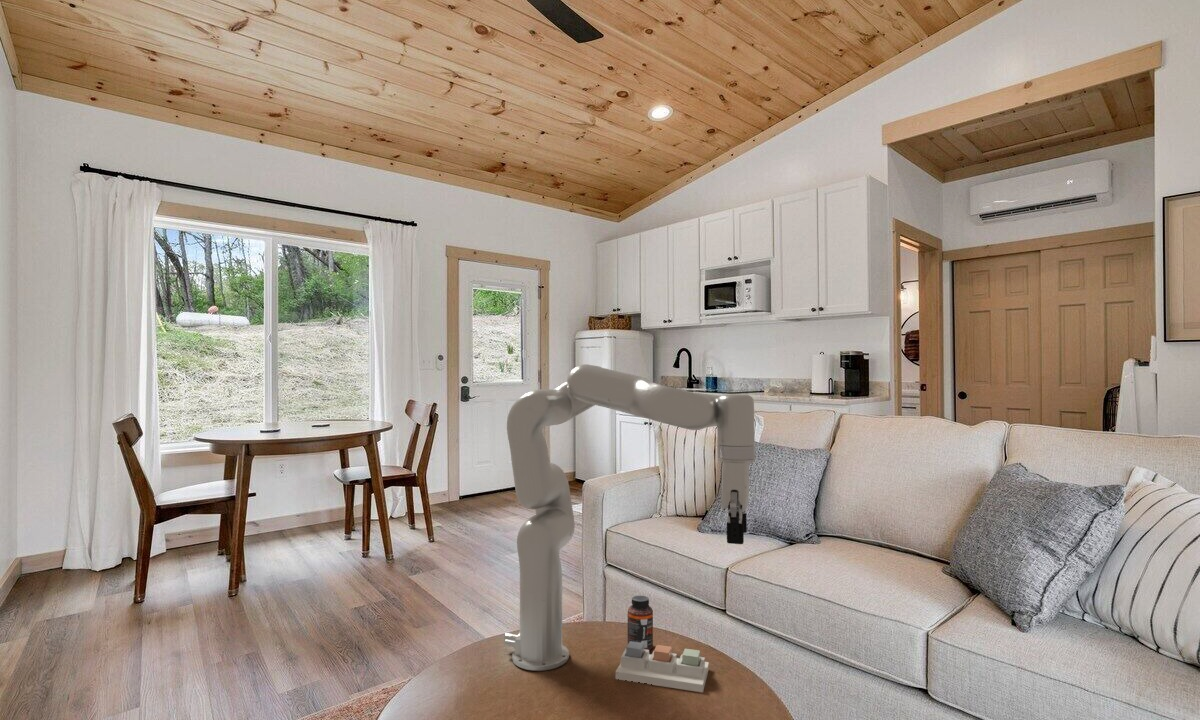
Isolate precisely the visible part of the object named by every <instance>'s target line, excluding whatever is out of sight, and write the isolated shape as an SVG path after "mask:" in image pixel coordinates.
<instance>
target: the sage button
mask: <svg viewBox="0 0 1200 720" xmlns="http://www.w3.org/2000/svg"><path fill="white" fill-rule="evenodd" d="M700 657H701V650H697V649H692V648H691V649H690V648H684V650H683V652H682V664H685V665H692V666H699V664H700Z"/></svg>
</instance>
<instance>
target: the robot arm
mask: <svg viewBox="0 0 1200 720" xmlns="http://www.w3.org/2000/svg"><path fill="white" fill-rule="evenodd" d="M754 401H755V400H754V398H753V397H752V396H751V395H749V394H743V393H742V394H740V393H739V394H736V393H735V394H733V393H732V394H731V393H730V394H729V393H728V394H721V395H715V394H708V393H699V392H693V391H687V390H682V389H681V388H680V389H678V388H676V387H675V388H674V387H670V386H668V385H667V386H666V385H663V384H659V383H656V382H653V381H651V380H648V379H647V378H645V377H642V376H639V375H634V374H631V373H626V372H622V371H618V370H613V369H610V368H605V367H602V366H598V365H593V364H584V363H583V364H580V365H578V366H575V367H574V368H573V369H571V371H570V372H569V374H568V376H567V379H566V382H564V383H562V384H561V385H560V386H558V387H555V388H554V389H549V388H541V389H540V388H539V389H534V390H531V391H528V392H526V393H525V394H523V395H521V396H520V397H519V398H517V400H516V401H515V402H514V403H513V405H512V406H511V407H510V410H509V412H508V415H507V419H506V434H507V440H508V445H509V452H510V459H511V460H510V461H511V468H512V475H513V481H514V488H515V496H516V499H517V500H518V503H519V504H520V505H521V506H522V507H523V508H525V509H527V510H535V514H534V515H533V516H531V517H529V518H528V519H527V520H526V521H525V522H524V523H523V524H522V525H521V527H520V528H519V530H518V533H517V535H516V536H517V537H516V548H517V556H518V561H519V562H518V563H519V633H518V634H515V633H511V632H510V633H509V632H505V634H504V637H503V641H504V643H503V644H504V647H510V648H511V647H513V649H514V650H513V652H512V654H511V656H512V659H511V660H512V662H513V664H514V665H515V666H517V667H519V668H521V669H523V670H527V671H536V672H537V671H539V672H541V671H550V670H555V669H557V668H559V667H561V666H563V665H564V664H565V663H567V662H568V660H569V657H570V656H569V655H570V652H569V648H568V647H566V646H565V645H563V570H562V562H561V559H560V558H561V557H560V551H561V549H562V548H564V547H565V546H566V545H567V544H569V542H570V541H571V540H572V538H573V536H574V533H575V527H576V526H575V516H574V510H573V505H572V504H573V503H572V496H571V490H570V484H569V480H568V478H567V475H566V473H565V471H564V470H563V469H562V468H561V467H560V466H559V465H557V464H555V463H551V462H550V458H549V450H548V443H547V441H546V439H545V435H544V433H543V432H544V431H543V429H544V428H545V427H550V426H558V425H561V424H564V423H566V422H569V421H570V420H572V419H573V418H575V417H577V416H579V415H581V414H582V413H584V412H586V411H587V410H590V409H592V407H595V406H596V407H597V406H598V407H602V408H605V409H606V408H607V409H611V410H614V411H618V412H621V413H625V414H628V415H632V416H635V417H639V418H644V419H647V420H650V421H651V420H652V421H655V422H658V423H662V424H666V425H670V426H674V427H677V428H681V429H685V430H689V431H701V430H703V429H706V428H712V427H717V428H716V429H717V430H716V431H717V432H716V433H717V437H716V438H717V444H716V445H717V461H718V462H722V464H721V465H722V466H721V493H720V494H721V496H720V497H721V498H720V499H721V501H720V502H721V503H720V509H721V510H722V511H723V512H725V511H726V510H727V517H726V518H727V521H726V542H727V544H730V545H732V544H735V545H744V542H745V541H744V535H745V534H746V533H747V529H748V527H747V525H748V524H747V518H748V517H747V508H748V505H749V504H748V503H749V495H750V494H749V493H750V463H754V462H756V460H755V459H756V457H755V456H756V451H755V449H756V448H755V447H756V446H755V442H756V441H755V402H754Z"/></svg>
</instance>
